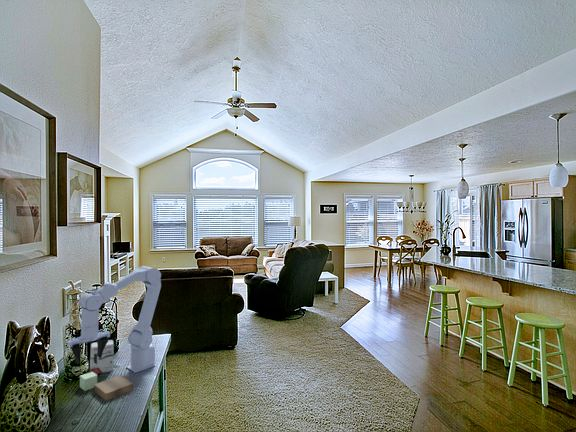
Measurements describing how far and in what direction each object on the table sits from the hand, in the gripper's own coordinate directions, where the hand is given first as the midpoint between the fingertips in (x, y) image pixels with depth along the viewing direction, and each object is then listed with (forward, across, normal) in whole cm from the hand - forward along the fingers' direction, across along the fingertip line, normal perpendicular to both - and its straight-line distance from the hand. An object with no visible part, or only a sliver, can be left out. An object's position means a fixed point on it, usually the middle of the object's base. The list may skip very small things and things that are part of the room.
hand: (89, 360), depth 130 cm
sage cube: (+10, 0, 0) cm, 10 cm away
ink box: (+11, +9, +10) cm, 17 cm away
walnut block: (+11, +5, -10) cm, 16 cm away
